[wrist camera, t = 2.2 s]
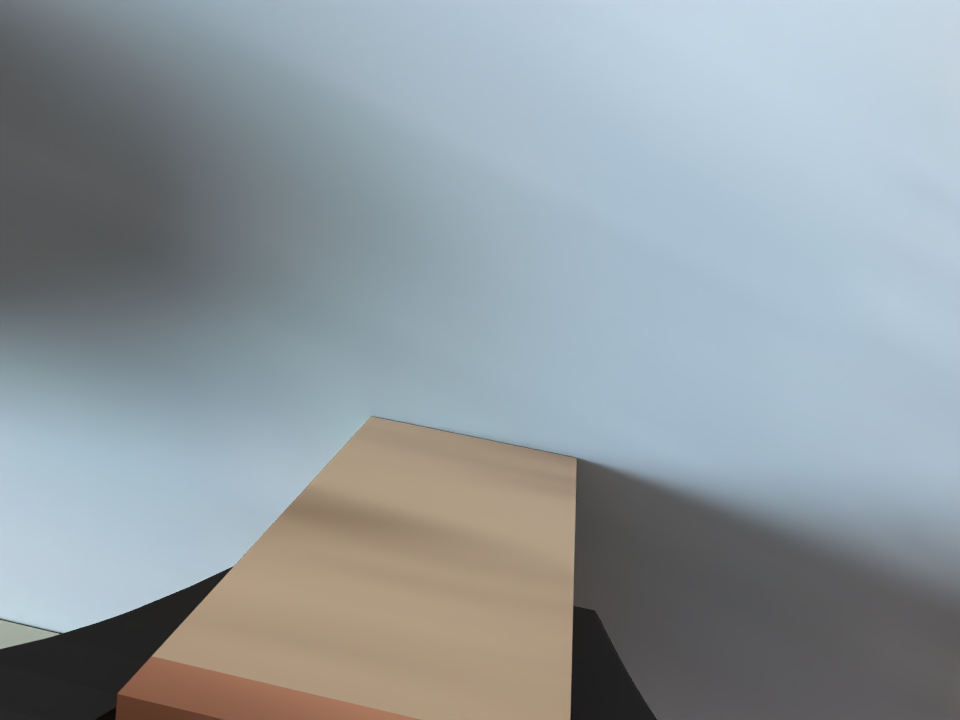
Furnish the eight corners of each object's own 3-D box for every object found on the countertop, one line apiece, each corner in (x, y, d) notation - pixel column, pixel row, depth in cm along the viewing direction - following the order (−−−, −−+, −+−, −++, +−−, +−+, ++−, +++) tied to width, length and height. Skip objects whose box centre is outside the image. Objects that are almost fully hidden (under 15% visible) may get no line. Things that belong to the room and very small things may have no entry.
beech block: (522, 717, 14) (459, 1273, 7) (335, 673, 15) (84, 1163, 7) (576, 458, 13) (567, 802, 6) (371, 416, 13) (117, 692, 6)
